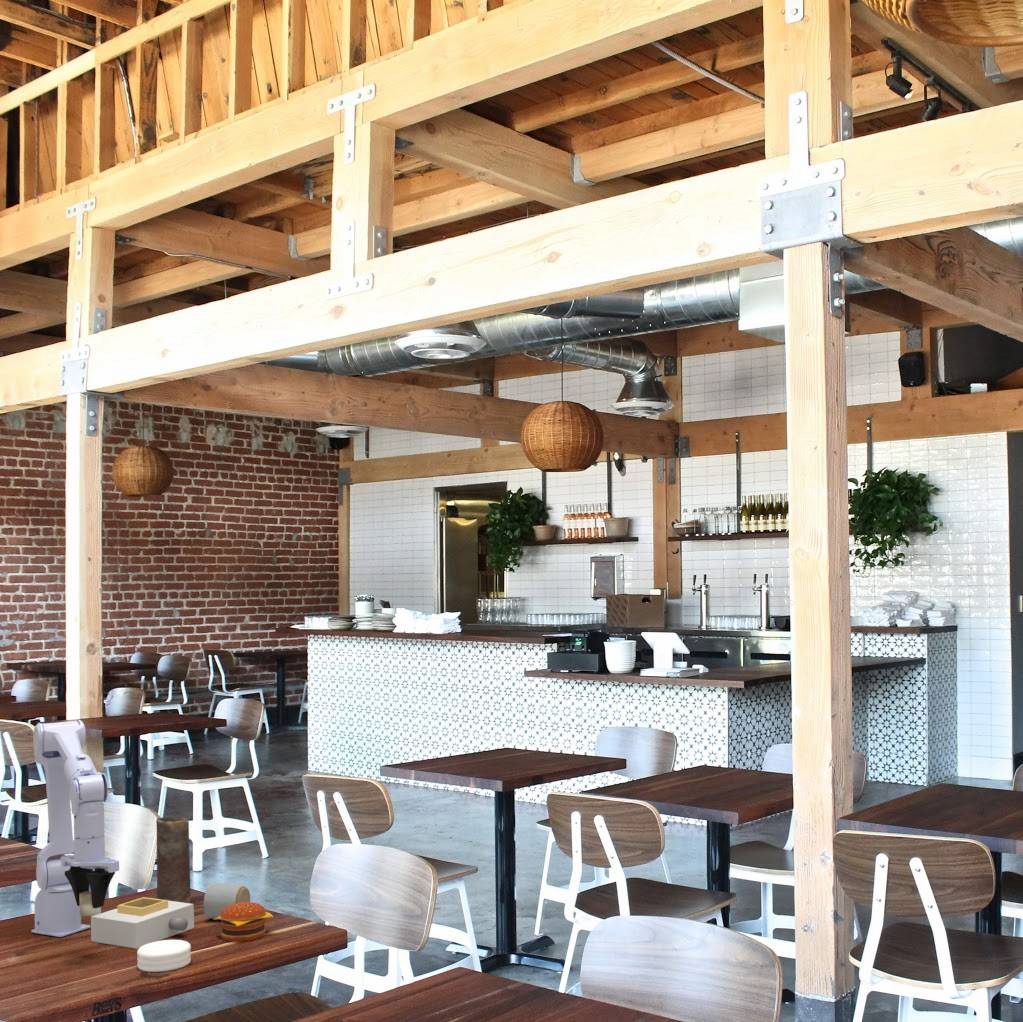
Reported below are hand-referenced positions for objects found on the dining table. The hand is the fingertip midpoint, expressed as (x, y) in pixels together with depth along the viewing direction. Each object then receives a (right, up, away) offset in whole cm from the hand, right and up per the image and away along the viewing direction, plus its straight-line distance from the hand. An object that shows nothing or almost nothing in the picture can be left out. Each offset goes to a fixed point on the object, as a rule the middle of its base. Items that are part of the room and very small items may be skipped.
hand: (90, 905), depth 242 cm
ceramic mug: (+22, -11, +25) cm, 35 cm away
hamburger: (+28, -10, +10) cm, 31 cm away
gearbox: (+8, -10, +12) cm, 18 cm away
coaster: (+17, -9, -8) cm, 21 cm away
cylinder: (0, -1, 0) cm, 2 cm away
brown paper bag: (+7, -12, +35) cm, 37 cm away
